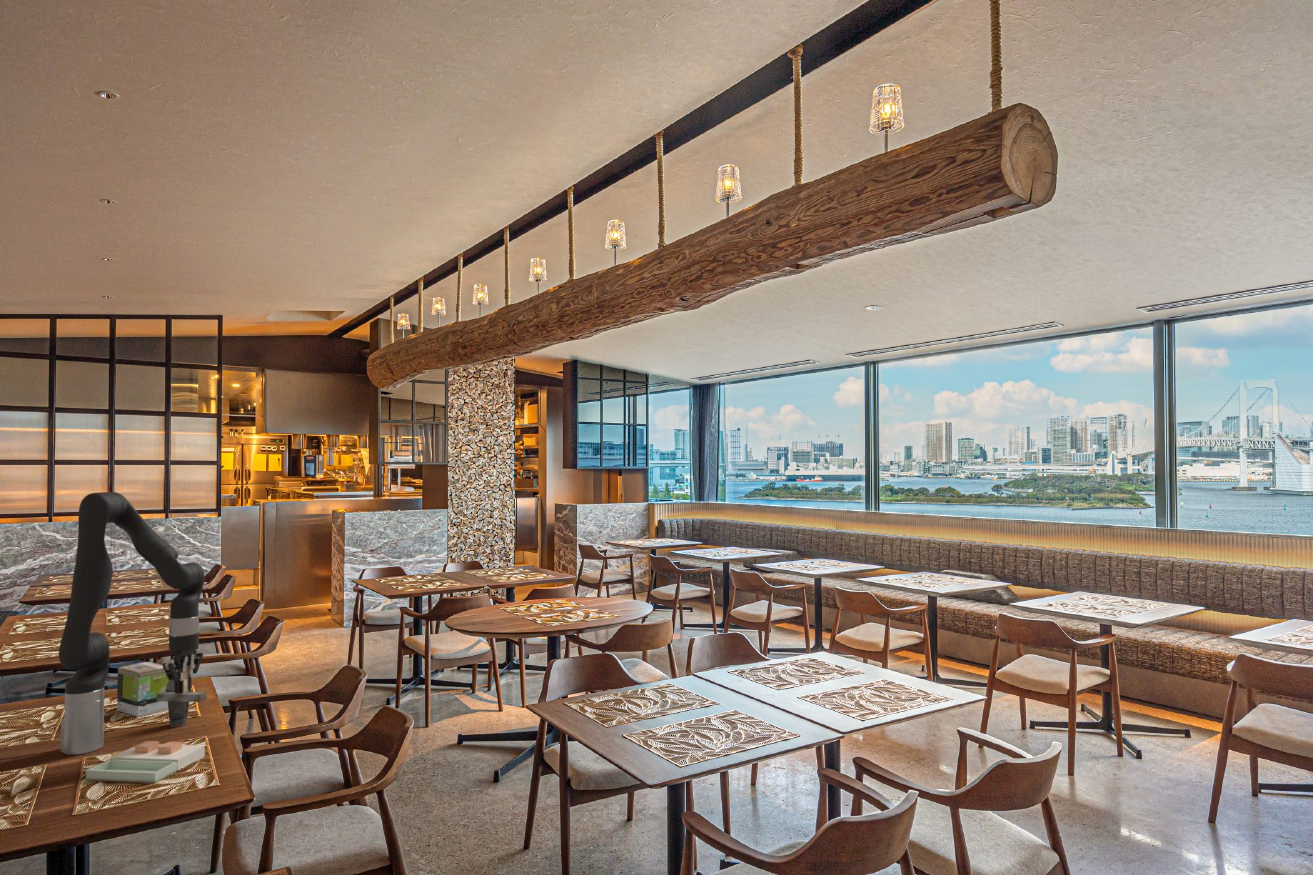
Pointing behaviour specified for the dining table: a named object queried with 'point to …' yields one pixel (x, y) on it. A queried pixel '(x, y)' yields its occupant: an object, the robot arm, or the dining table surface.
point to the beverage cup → (177, 709)
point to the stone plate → (166, 755)
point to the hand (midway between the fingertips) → (182, 691)
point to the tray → (131, 771)
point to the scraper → (184, 696)
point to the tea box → (141, 688)
